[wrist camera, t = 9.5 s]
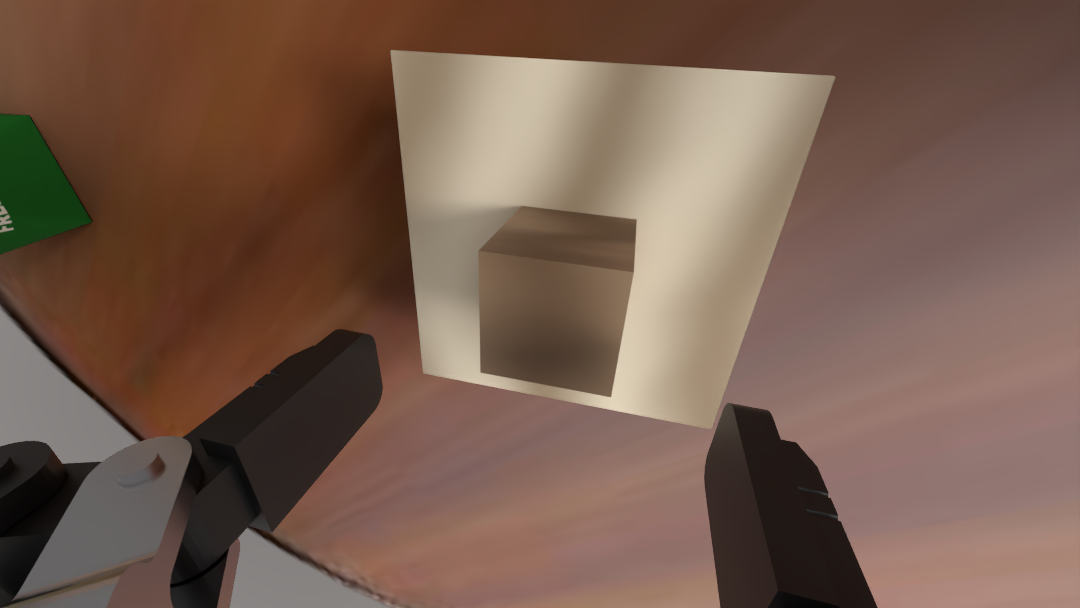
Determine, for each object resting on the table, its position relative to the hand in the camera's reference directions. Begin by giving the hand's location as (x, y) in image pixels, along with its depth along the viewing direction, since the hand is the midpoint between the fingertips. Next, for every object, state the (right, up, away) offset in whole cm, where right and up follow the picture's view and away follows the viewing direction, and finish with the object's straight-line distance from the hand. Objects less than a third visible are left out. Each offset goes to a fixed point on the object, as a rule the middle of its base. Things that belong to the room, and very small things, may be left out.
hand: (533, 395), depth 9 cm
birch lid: (+2, +4, +7) cm, 8 cm away
